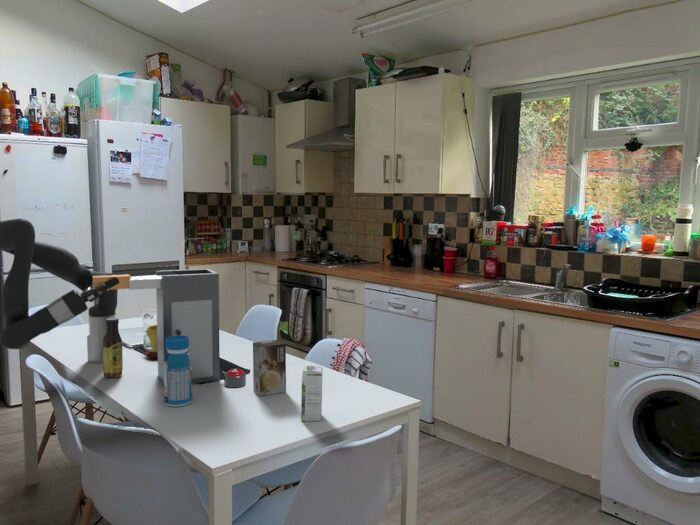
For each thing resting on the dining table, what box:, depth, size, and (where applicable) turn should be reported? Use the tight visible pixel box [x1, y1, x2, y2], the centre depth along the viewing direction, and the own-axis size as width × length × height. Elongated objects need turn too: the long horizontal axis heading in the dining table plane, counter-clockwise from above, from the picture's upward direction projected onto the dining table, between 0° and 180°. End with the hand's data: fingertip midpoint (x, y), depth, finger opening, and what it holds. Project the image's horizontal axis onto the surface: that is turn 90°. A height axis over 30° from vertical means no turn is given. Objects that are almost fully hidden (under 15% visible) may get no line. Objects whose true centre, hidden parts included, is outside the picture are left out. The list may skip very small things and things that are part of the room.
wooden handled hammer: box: [92, 273, 176, 291], centre depth 189 cm, size 26×9×4 cm, turn 116°
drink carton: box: [300, 365, 324, 422], centre depth 165 cm, size 6×6×14 cm
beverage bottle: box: [163, 335, 193, 408], centre depth 175 cm, size 8×8×20 cm
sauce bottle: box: [102, 317, 124, 379], centre depth 199 cm, size 6×6×20 cm
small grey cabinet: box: [155, 268, 221, 386], centre depth 197 cm, size 18×16×36 cm
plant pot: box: [146, 324, 158, 352], centre depth 232 cm, size 10×10×10 cm
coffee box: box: [252, 339, 287, 397], centre depth 186 cm, size 9×6×16 cm
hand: (116, 278), depth 186 cm, fingers open, 6 cm apart
